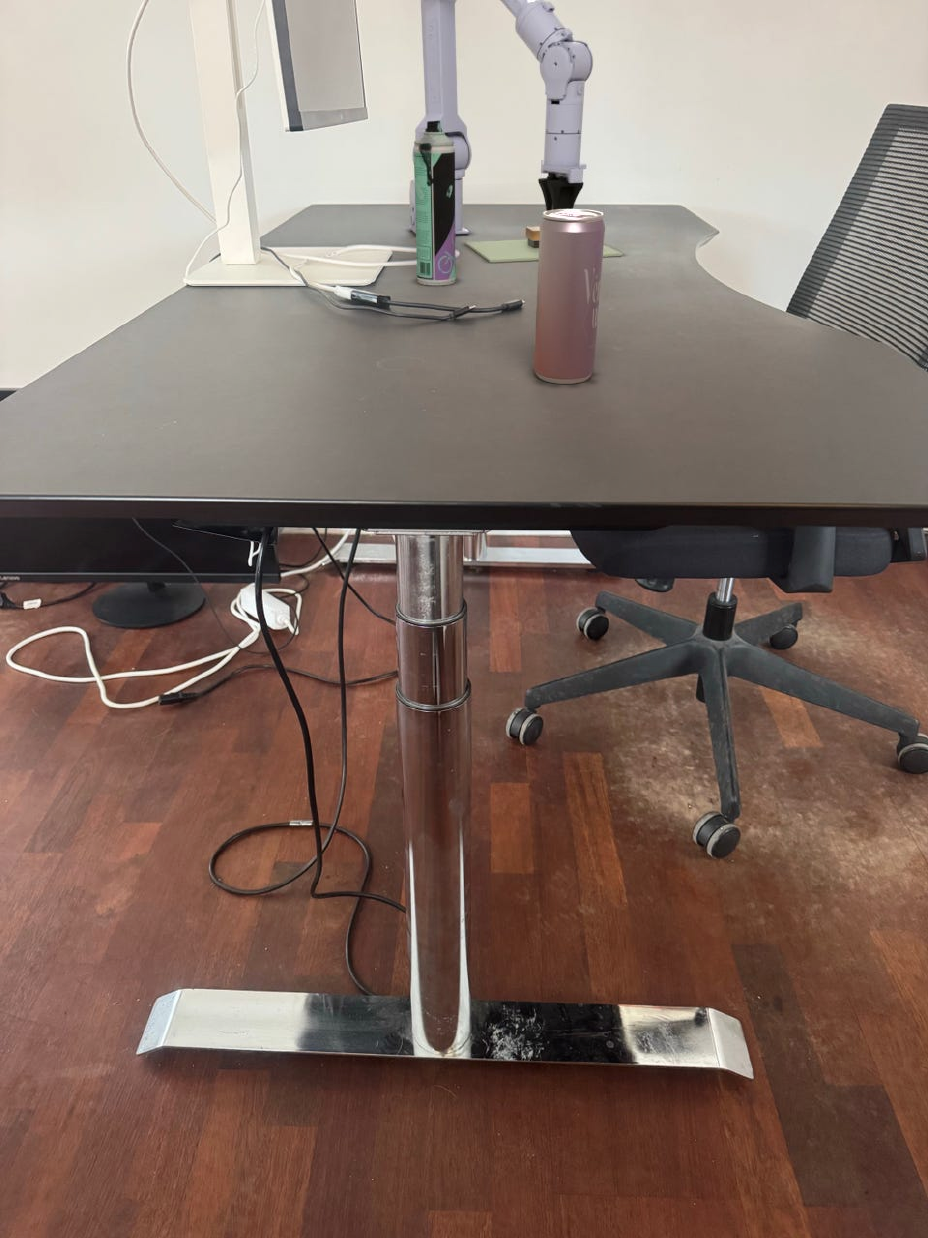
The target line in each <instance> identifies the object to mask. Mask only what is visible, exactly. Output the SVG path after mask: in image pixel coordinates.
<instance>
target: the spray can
mask: <svg viewBox="0 0 928 1238" xmlns="http://www.w3.org/2000/svg"><path fill="white" fill-rule="evenodd" d="M423 134H424V135H423V136H421V137H420V138H419V139H418V140H417V141H415V140H414V141H413V145H414V144H415V147H414V146H413V147H414V163H413V173H414V174H413V178H414V179H413V180H415V215H416V234H415V243H416V244H415V245H416V251H415V252H416V279H417V283H419V284H420V285H425V286H447V285H452V284H455V283H456V277H457V275H456V273H457V272H456V268H457V267H456V264H457V263H456V234H455V148H454V146H453V144H454V141H451V140H450V139H449V138H448V137H447V136H446V135H444V134H445V132H444V131H442V128H440V121H428V122H427V129H425V131H424V132H423Z"/></svg>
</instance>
